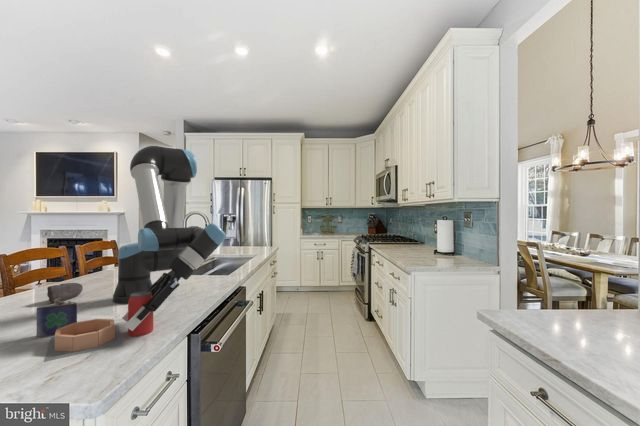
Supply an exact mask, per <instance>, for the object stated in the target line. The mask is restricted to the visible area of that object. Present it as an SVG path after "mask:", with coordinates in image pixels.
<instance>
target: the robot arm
mask: <svg viewBox="0 0 640 426" xmlns="http://www.w3.org/2000/svg"><path fill="white" fill-rule="evenodd" d="M129 170H130V175H131V177H132V178H133V179H134V181H135V186H136V192H137V198H138V202H139V209H140V215H141V220H142V225H143V228H140V229H139V231H138V233H137V242H133V243H130V244H129V243H128V244H125V245H122V246H120V247H119V248H118V254H117V263H118V264H117V267H118V269H117V284H116V287H115V290H114V292H113V294H112V302H113V303H115V304H122V305H123V304H128V301H129V298H130V295H131V294H132V293H135V292H141V291H150V292H151V294H152V296H153V297H152V298H151V299H150V300H149V301H148V303H147V304H143V305H142V306H143V307H142V308H141V309H140V310H139V311H138V312H137V313H136V314H135V315H134V316H133V317H132V318H131V319H130V320H129V321H128V311H127V312H126V313H125V314H124V315H123V316H122V317H121V319H122V320H123V321H125V322H126V323H124V325H123V326H124V327H126V328H127V330H128V329H130V330H131V331H133V330H134V329H135V328H136V327H137V326H138V325H139V324H140V323H141V322H142V321H143V320H144V319H145V318H146V316H147V315H148V314H149V313H150V312H152V311H153V313H154V312H156V311H157V310H158V309H159V307H161V306H162V304H163V303H164V302H165V301H166V299H168V297H170V295H171V294H172V293H173V292H174V291H175V290H176V289H177V288H178V287H180V283H179V281H180V280H181V278H182V279H184V280H188V279H189V278H190V277H191V276H192V275H193V274H194V273H195V270H198V268H200V267H202V266H204V262H205V261H206V260H207V259H208V258H210V257H209V256H211V255H212V253H214V251H216V250H217V249H218V247H220V246H221V245H222V243H223V242H224V241H225V239H226V238H227V236H226V232H225V231H223V229H222V228H221V227H220V226H218V225H217V224H216V223H213V222H211V223H209V224H207V225H206V226H204V228H203V227H199V225H198V226H197V225H192V226H191V225H190V226H188V227H184V217H185V207H186V197H187V196H186V195H187V193H186V192H187V186H188V185H189V184H190V183H191V182H192V179H194V178H196V176H197V173H198V171H197V170H198V164H197V159H196V157H195V154H194V153H193V152H192V151H190V150H188V149H184V148H175V147H166V146H159V145H148V146H145V147H143V148H141V149H139V150H138V151H137V152H136V153H135V154H134V156H133V157H132V159H131V162H130V166H129ZM159 176H160V180H161V181H162V182H163V183H164V189H163V196H162V191H161V190H162V189H161V188H160V187H161V186H160V183H159ZM162 271H169V272H167V273H166V272H163V273H162V275H161V276H160V277H159V278H158V279H156V281H155V282H154V283H153V282H152V279H151V274H152V272H153V273H154V272H162Z"/></svg>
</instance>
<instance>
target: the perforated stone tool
mask: <svg viewBox="0 0 640 426" xmlns="http://www.w3.org/2000/svg"><path fill="white" fill-rule="evenodd" d="M83 289H84V287H83V284H81V283H78V282H67V283H60V284H58V285H57V284H56V285H55V284H54V285H49V286H47V292H46V293H47V294H46V295H47V297H48V301H49V303H54V302H55V301H54V300H55V299H57V298H60V301H63V302H65V301H67V300H70V299H73V298H76V297H77V296H79V295H80V294H81V293H82V291H83Z"/></svg>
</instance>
